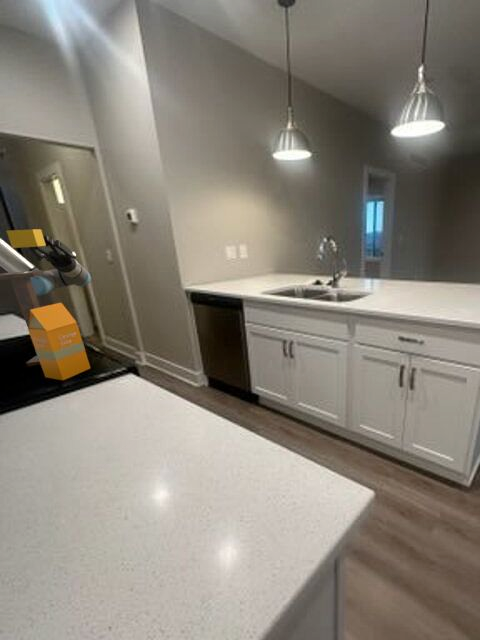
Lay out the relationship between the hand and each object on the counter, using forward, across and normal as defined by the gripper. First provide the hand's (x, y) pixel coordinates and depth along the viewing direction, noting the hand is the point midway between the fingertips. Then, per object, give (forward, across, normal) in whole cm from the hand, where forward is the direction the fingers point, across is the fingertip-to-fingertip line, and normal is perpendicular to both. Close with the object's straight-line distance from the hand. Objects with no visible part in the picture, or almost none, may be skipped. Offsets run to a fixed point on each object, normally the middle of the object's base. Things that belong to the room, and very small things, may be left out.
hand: (31, 233), depth 112 cm
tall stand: (-5, 0, +42) cm, 42 cm away
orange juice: (+7, +10, +49) cm, 50 cm away
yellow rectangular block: (-2, 0, +3) cm, 4 cm away
